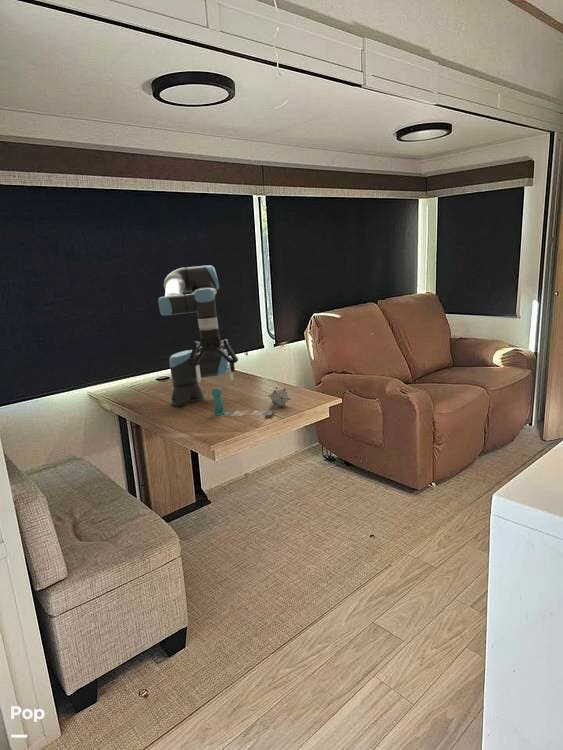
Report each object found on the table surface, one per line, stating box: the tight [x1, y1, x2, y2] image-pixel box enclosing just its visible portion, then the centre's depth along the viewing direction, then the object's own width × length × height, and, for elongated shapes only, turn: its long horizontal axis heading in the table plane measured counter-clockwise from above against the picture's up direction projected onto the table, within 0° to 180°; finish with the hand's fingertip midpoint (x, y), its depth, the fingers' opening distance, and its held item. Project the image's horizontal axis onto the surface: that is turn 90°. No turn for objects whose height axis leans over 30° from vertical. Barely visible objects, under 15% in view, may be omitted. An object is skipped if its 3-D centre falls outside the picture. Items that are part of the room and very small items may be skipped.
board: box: [213, 409, 275, 419], centre depth 203 cm, size 24×6×1 cm, turn 81°
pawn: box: [211, 386, 226, 417], centre depth 204 cm, size 4×4×12 cm
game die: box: [267, 386, 291, 409], centre depth 211 cm, size 9×8×10 cm
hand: (215, 380), depth 201 cm, fingers open, 13 cm apart
